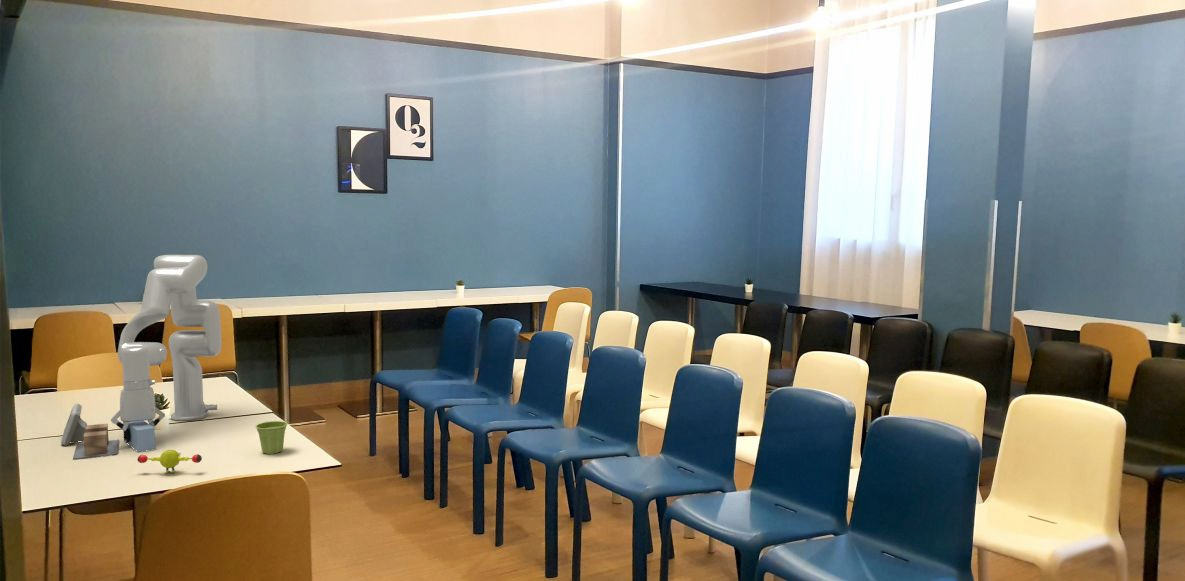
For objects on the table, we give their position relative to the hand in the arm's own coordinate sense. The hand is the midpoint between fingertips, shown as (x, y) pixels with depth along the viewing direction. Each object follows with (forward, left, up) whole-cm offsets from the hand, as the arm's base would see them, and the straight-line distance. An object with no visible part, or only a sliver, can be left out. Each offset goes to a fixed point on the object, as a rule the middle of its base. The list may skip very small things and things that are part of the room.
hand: (139, 440), depth 283 cm
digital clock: (+20, -17, -2) cm, 26 cm away
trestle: (+12, 0, -2) cm, 12 cm away
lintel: (0, 0, -2) cm, 2 cm away
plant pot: (-37, +26, -2) cm, 45 cm away
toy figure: (-8, +36, -2) cm, 37 cm away
